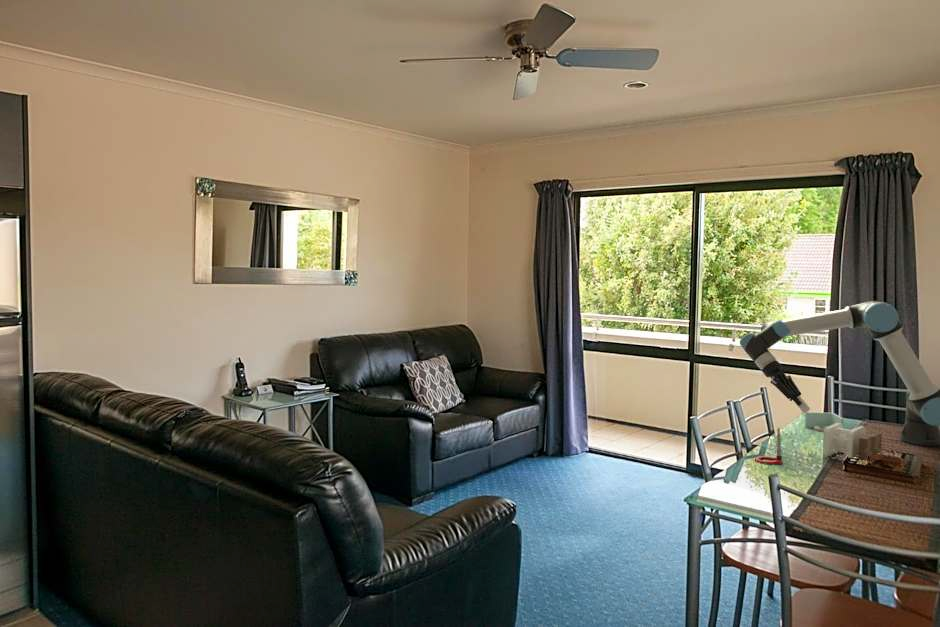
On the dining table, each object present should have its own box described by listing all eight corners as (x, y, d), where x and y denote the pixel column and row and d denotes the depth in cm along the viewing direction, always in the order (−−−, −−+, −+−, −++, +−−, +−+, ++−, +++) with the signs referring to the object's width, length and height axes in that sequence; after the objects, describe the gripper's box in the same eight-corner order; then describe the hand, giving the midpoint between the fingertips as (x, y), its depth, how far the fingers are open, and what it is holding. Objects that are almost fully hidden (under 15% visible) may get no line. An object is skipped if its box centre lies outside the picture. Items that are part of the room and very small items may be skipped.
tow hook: (756, 464, 254) (783, 465, 251) (755, 430, 253) (782, 430, 251) (753, 458, 262) (779, 459, 259) (752, 425, 261) (779, 425, 259)
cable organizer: (851, 462, 255) (852, 432, 254) (821, 456, 263) (822, 427, 262) (865, 455, 265) (866, 425, 264) (835, 450, 273) (837, 421, 272)
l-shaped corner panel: (804, 428, 313) (805, 412, 312) (832, 429, 311) (833, 412, 310) (813, 434, 301) (814, 417, 300) (843, 435, 299) (843, 418, 299)
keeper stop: (845, 452, 270) (846, 427, 269) (880, 460, 260) (881, 433, 259) (827, 458, 262) (828, 432, 261) (863, 466, 251) (865, 439, 250)
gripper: (770, 369, 293) (808, 414, 281) (754, 372, 285) (792, 418, 273) (783, 358, 289) (822, 403, 276) (766, 360, 281) (805, 407, 269)
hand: (807, 411), depth 275 cm, fingers closed
